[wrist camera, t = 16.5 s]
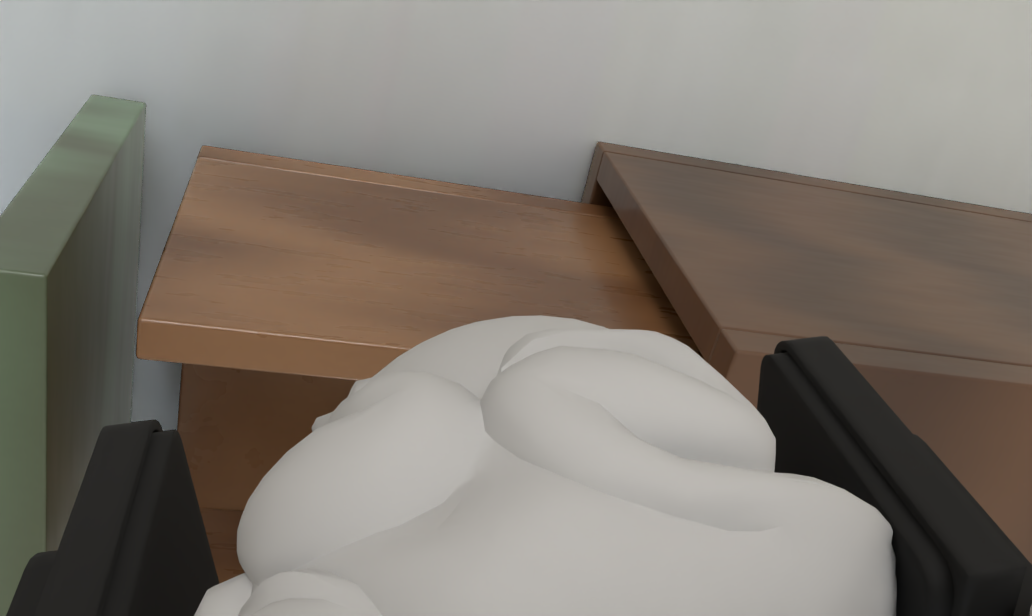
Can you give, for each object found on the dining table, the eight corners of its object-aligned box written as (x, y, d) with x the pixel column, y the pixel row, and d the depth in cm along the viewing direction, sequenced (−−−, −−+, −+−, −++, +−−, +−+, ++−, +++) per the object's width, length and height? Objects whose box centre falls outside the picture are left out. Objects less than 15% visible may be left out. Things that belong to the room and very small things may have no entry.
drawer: (-140, 500, 27) (-333, 797, 19) (-188, 48, 21) (-490, 212, 13) (626, 549, 32) (715, 798, 24) (749, 198, 26) (915, 377, 19)
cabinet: (490, 536, 32) (550, 850, 23) (596, 140, 26) (735, 351, 17) (957, 567, 36) (1166, 842, 27) (1143, 232, 30) (1497, 441, 21)
